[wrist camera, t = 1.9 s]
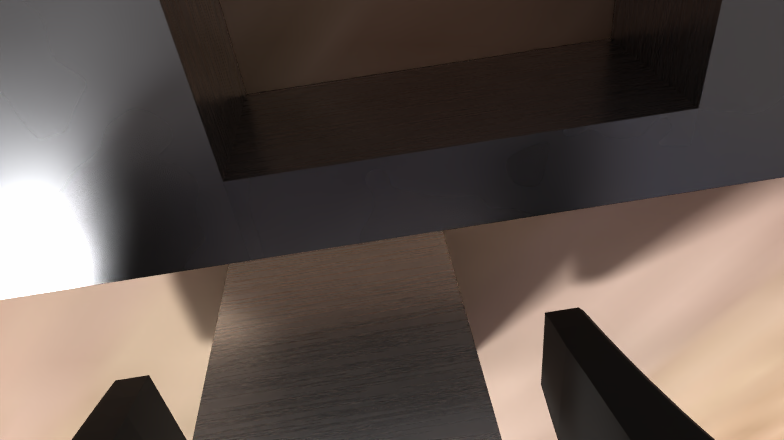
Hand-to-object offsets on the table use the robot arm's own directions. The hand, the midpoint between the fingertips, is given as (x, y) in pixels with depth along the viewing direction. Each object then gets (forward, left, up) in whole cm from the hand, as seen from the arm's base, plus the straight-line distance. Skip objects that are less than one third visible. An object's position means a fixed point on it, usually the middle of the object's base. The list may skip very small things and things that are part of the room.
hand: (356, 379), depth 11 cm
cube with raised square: (0, 0, -2) cm, 2 cm away
